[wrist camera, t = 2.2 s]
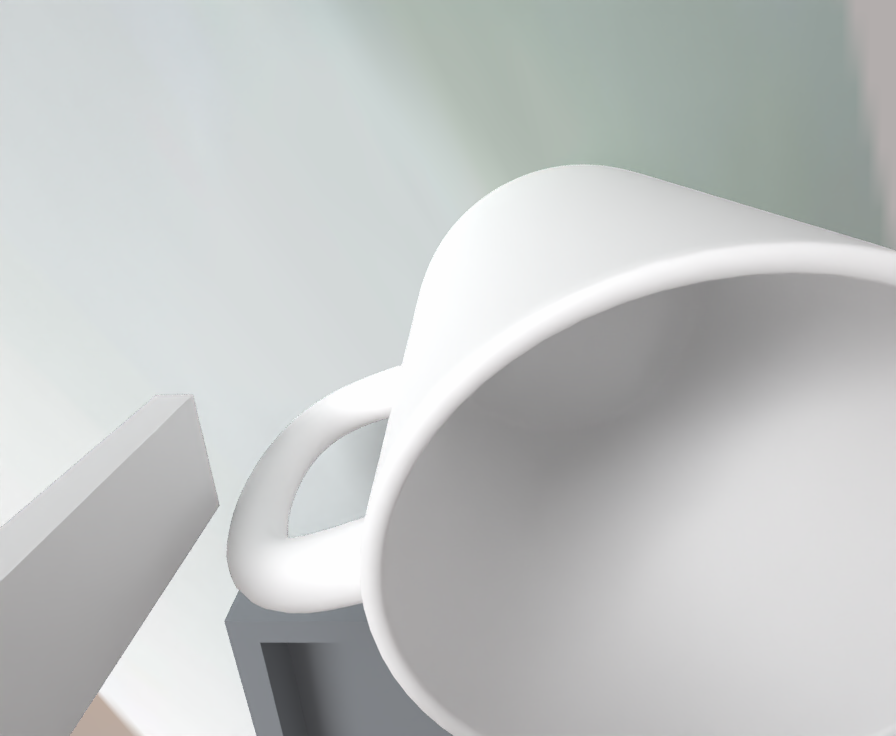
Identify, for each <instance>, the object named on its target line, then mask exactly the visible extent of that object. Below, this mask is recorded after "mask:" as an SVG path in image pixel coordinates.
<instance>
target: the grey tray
mask: <svg viewBox="0 0 896 736" xmlns="http://www.w3.org/2000/svg"><path fill="white" fill-rule="evenodd" d="M225 625H226V628H227V632H228V635H229V639H230V643H231V646H232V650H233V653H234V657H235V660H236V664H237V668H238V671H239V675H240V678H241V682H242V685H243V689H244V693H245V696H246V700H247V703H248V707H249V710H250V714H251V717H252V721H253V725H254V728H255V732H256V735H257V736H453V735H452V734H450V733H449V732H448V731H446V730H445V729H443V728H442V727H441V726H439V725H438V724H437V723H436V722H435V721H434V720H432V719H431V718H430V717H429V716H428V715H427V714H426V713H424V712H423V711H422V710H421V709H420V708H419V707H418V705H417V704H416V703H415V702H414V701H413V700H412V699H411V698H410V697H409V696H408V695H407V694H406V692H405V691H404V690H403V688H402V687H401V686H400V684H399V683H398V682H397V680H396V679H395V678H394V677H393V675H392V673H391V671H390V670H389V668H388V666H387V665H386V663H385V661H384V660H383V658H382V656H381V654H380V652H379V649H378V647H377V645H376V643H375V640H374V638H373V636H372V633H371V631H370V628H369V624H368V621H367V618H366V614H365V611H364V607H363V603H360V604H356V605H352V606H348V607H343V608H338V609H333V610H329V611H321V612H313V613H285V612H280V611H274V610H269V609H265V608H262V607H260V606H258V605H256V604H254V603H253V602H251V601H250V600H249V599H248V598H247V597H246V596H245V595H244V594H243V593H242V592H241V591H240V590H239V592H238V594H237V596H236V598H235V600H234V602H233V604H232V606H231V608H230V611H229V613H228V615H227V617H226V619H225Z"/></svg>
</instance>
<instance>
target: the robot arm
mask: <svg viewBox="0 0 896 736" xmlns="http://www.w3.org/2000/svg"><path fill="white" fill-rule="evenodd" d="M219 506H220V505H219V501H218V497H217V493H216V488H215V484H214V480H213V476H212V472H211V467H210V463H209V459H208V455H207V451H206V447H205V442H204V438H203V434H202V430H201V426H200V421H199V417H198V413H197V409H196V405H195V400H194V396H193V394H182V395H155V396H154V397H153V398H152V399H150V400H149V401H148V402H147V403H146V404H144V405H143V406H142V407H141V408H140V409H139V410H137V411H136V412H135V413H134V414H133V415H132V416H130V417H129V418H128V419H127V420H126V421H125V422H123V423H122V424H121V425H120V426H119V427H118V428H116V429H115V430H114V431H113V432H112V433H111V434H109V435H108V436H107V437H106V438H105V439H104V440H102V441H101V442H100V443H99V444H98V445H97V446H95V447H94V448H93V449H92V450H91V451H90V452H88V453H87V454H86V455H85V456H84V457H83V458H81V459H80V460H79V461H78V462H77V463H76V464H74V465H73V466H72V467H71V468H70V469H69V470H67V471H66V472H65V473H64V474H63V475H61V476H60V477H59V478H58V479H57V480H56V481H54V482H53V483H52V484H51V485H50V486H49V487H47V488H46V489H45V490H44V491H43V492H42V493H40V494H39V495H38V496H37V497H36V498H35V499H33V500H32V501H31V502H30V503H29V504H28V505H26V506H25V507H24V508H23V509H22V510H21V511H19V512H18V513H17V514H16V515H15V516H14V517H12V518H11V519H10V520H9V521H8V522H7V523H5V524H4V525H3V526H2V527H1V528H0V736H70V734H71V733H72V731H73V730H74V728H75V727H76V725H77V724H78V722H79V721H80V719H81V718H82V716H83V714H84V713H85V711H86V710H87V708H88V707H89V705H90V704H91V702H92V701H93V699H94V698H95V696H96V695H97V693H98V691H99V690H100V688H101V687H102V685H103V684H104V682H105V681H106V679H107V678H108V676H109V675H110V673H111V671H112V670H113V668H114V667H115V665H116V664H117V662H118V661H119V659H120V658H121V656H122V655H123V653H124V652H125V650H126V648H127V647H128V645H129V644H130V642H131V641H132V639H133V638H134V636H135V635H136V633H137V632H138V630H139V628H140V627H141V625H142V624H143V622H144V621H145V619H146V618H147V616H148V615H149V613H150V612H151V610H152V608H153V607H154V605H155V604H156V602H157V601H158V599H159V598H160V596H161V595H162V593H163V592H164V590H165V588H166V587H167V585H168V584H169V582H170V581H171V579H172V578H173V576H174V575H175V573H176V572H177V570H178V569H179V567H180V565H181V564H182V562H183V561H184V559H185V558H186V556H187V555H188V553H189V552H190V550H191V549H192V547H193V545H194V544H195V542H196V541H197V539H198V538H199V536H200V535H201V533H202V532H203V530H204V529H205V527H206V525H207V524H208V522H209V521H210V519H211V518H212V516H213V515H214V513H215V512H216V510H217V509H218V507H219Z"/></svg>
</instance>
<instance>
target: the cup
mask: <svg viewBox="0 0 896 736" xmlns="http://www.w3.org/2000/svg"><path fill="white" fill-rule="evenodd" d="M387 418H389V420H388V425H387V429H386V433H385V437H384V441H383V445H382V449H381V453H380V457H379V461H378V466H377V470H376V474H375V478H374V482H373V486H372V490H371V494H370V498H369V502H368V507H367V511H366V515H365V517H362V518H359V519H356V520H353V521H350V522H347V523H344V524H341V525H338V526H335V527H332V528H329V529H325V530H322V531H319V532H315V533H311V534H307V535H303V536H297V537H288V521H289V514H290V510H291V506H292V503H293V500H294V497H295V495H296V493H297V490H298V488H299V486H300V484H301V482H302V480H303V478H304V476H305V475H306V473H307V471H308V470H309V468H310V467H311V465H312V464H313V463H314V461H315V460H316V459H317V458H318V456H319V455H320V454H321V453H322V452H323V451H325V450H326V449H327V448H328V447H329V446H330V445H332V444H333V443H334V442H336V441H337V440H339V439H340V438H342V437H343V436H345V435H347V434H349V433H350V432H352V431H354V430H357V429H359V428H361V427H363V426H366V425H368V424H371V423H374V422H377V421H380V420H384V419H387ZM226 556H227V562H228V567H229V571H230V574H231V577H232V579H233V582H234V584H235V586H236V588H238V589H239V590H240V591H241V592H242V593H243V594H244V595H245V596H246V597H247V598H248V599H249V600H250V601H251V602H253V603H254V604H256V605H258V606H260V607H262V608H265V609H269V610H274V611H280V612H285V613H313V612H321V611H329V610H333V609H338V608H343V607H348V606H352V605H356V604H360V603H363V607H364V611H365V614H366V618H367V621H368V624H369V628H370V631H371V633H372V636H373V638H374V640H375V643H376V645H377V647H378V649H379V652H380V654H381V656H382V658H383V660H384V661H385V663H386V665H387V666H388V668H389V670H390V671H391V673H392V675H393V677H394V678H395V679H396V680H397V682H398V683H399V684H400V686H401V687H402V688H403V690H404V691H405V692H406V694H407V695H408V696H409V697H410V698H411V699H412V700H413V701H414V702H415V703H416V704H417V705H418V707H419V708H420V709H421V710H422V711H423V712H424V713H426V714H427V715H428V716H429V717H430V718H431V719H432V720H434V721H435V722H436V723H437V724H438V725H439V726H441V727H442V728H443V729H445V730H446V731H448V732H449V733H450V734H452V735H453V736H896V250H894V249H890V248H887V247H884V246H880V245H877V244H874V243H870V242H867V241H864V240H860V239H857V238H854V237H850V236H847V235H844V234H840V233H837V232H834V231H830V230H827V229H824V228H821V227H817V226H814V225H811V224H807V223H804V222H801V221H797V220H794V219H791V218H787V217H784V216H781V215H777V214H774V213H771V212H767V211H764V210H761V209H757V208H754V207H751V206H747V205H744V204H741V203H737V202H734V201H731V200H727V199H724V198H721V197H718V196H714V195H711V194H708V193H704V192H701V191H698V190H694V189H691V188H688V187H684V186H681V185H678V184H674V183H671V182H668V181H664V180H661V179H658V178H654V177H651V176H648V175H644V174H641V173H637V172H634V171H630V170H626V169H622V168H616V167H610V166H603V165H587V164H579V165H564V166H558V167H551V168H547V169H543V170H539V171H535V172H532V173H529V174H527V175H524V176H521V177H519V178H516V179H514V180H512V181H510V182H508V183H506V184H504V185H502V186H500V187H499V188H497V189H495V190H494V191H492V192H491V193H489V194H487V195H486V196H485V197H483V198H482V199H481V200H479V201H478V202H477V203H475V204H474V205H473V206H472V207H471V208H470V209H469V210H468V211H467V212H466V213H464V214H463V215H462V216H461V218H460V219H459V220H458V221H457V222H456V223H455V224H454V225H453V227H452V228H451V229H450V231H449V232H448V233H447V235H446V236H445V237H444V239H443V240H442V242H441V244H440V245H439V247H438V249H437V250H436V252H435V254H434V256H433V258H432V260H431V263H430V265H429V267H428V269H427V271H426V274H425V277H424V280H423V283H422V286H421V289H420V293H419V297H418V301H417V306H416V310H415V314H414V318H413V322H412V326H411V330H410V334H409V338H408V342H407V347H406V351H405V355H404V359H403V363H402V365H399V366H396V367H393V368H390V369H387V370H384V371H381V372H378V373H376V374H373V375H370V376H368V377H365V378H363V379H360V380H358V381H355V382H353V383H351V384H349V385H346V386H344V387H342V388H340V389H338V390H336V391H334V392H333V393H331V394H329V395H327V396H326V397H324V398H322V399H321V400H319V401H318V402H316V403H315V404H313V405H312V406H310V407H309V408H308V409H306V410H305V411H304V412H302V413H301V414H300V415H299V416H298V417H296V418H295V419H294V420H293V421H292V422H291V423H290V424H289V425H288V426H287V427H286V428H285V429H284V430H283V431H282V432H281V433H280V434H279V435H278V437H277V438H276V439H275V440H274V442H273V443H272V444H271V445H270V446H269V448H268V449H267V450H266V452H265V453H264V454H263V456H262V457H261V458H260V460H259V462H258V463H257V465H256V466H255V468H254V469H253V471H252V473H251V475H250V476H249V478H248V480H247V482H246V484H245V486H244V488H243V490H242V492H241V495H240V497H239V499H238V502H237V504H236V507H235V510H234V513H233V517H232V520H231V524H230V530H229V535H228V541H227V555H226Z"/></svg>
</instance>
